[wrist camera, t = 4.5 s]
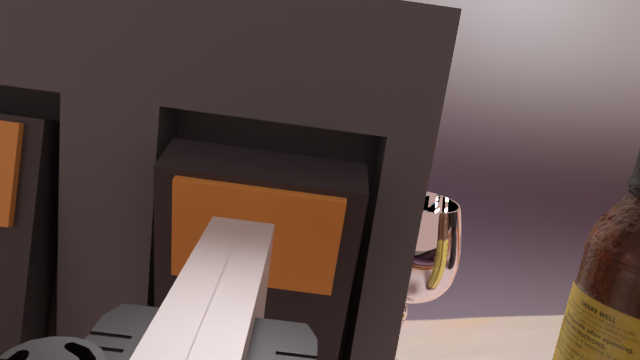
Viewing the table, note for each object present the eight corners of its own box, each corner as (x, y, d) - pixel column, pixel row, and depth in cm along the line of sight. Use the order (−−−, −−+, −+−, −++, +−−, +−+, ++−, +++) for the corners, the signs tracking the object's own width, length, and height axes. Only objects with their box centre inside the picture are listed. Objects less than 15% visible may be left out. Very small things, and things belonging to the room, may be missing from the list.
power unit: (343, 448, 30) (418, 15, 24) (349, 595, 22) (461, 8, 16) (-41, 401, 29) (-56, -52, 24) (-172, 534, 22) (-241, -91, 16)
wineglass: (352, 405, 33) (385, 212, 30) (335, 350, 39) (362, 182, 36) (445, 407, 34) (486, 220, 31) (416, 353, 40) (448, 189, 37)
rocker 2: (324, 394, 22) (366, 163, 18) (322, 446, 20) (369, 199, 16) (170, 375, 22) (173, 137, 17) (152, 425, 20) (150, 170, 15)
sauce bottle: (653, 555, 26) (807, 126, 21) (514, 488, 29) (619, 96, 24) (654, 470, 31) (776, 115, 26) (537, 421, 34) (627, 92, 29)
